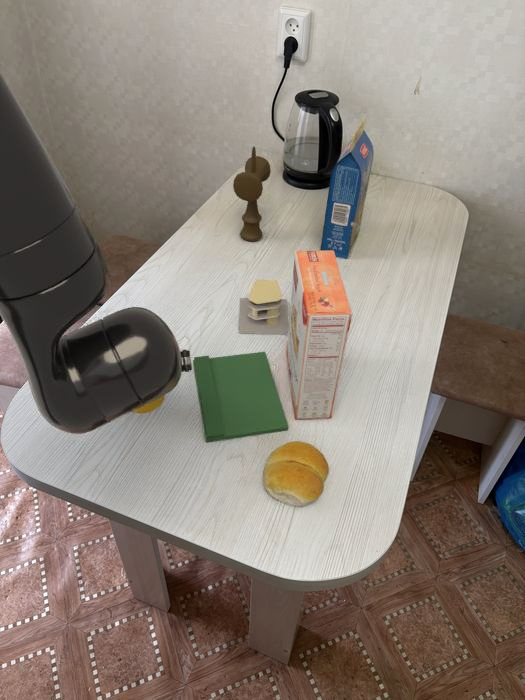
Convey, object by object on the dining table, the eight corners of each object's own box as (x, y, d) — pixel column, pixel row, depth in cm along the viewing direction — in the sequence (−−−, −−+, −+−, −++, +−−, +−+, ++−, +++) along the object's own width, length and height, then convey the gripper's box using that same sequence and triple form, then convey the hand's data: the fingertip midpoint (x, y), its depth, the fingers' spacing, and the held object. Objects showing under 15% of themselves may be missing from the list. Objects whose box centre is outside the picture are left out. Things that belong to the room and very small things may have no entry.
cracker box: (283, 355, 85) (293, 248, 70) (318, 354, 85) (336, 248, 71) (291, 421, 75) (305, 312, 60) (331, 420, 75) (355, 311, 61)
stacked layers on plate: (239, 298, 95) (240, 274, 92) (287, 299, 96) (289, 275, 92) (238, 333, 88) (238, 308, 84) (289, 334, 89) (292, 310, 85)
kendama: (232, 246, 108) (232, 154, 95) (243, 224, 115) (245, 135, 101) (259, 250, 108) (263, 158, 94) (269, 228, 115) (274, 139, 101)
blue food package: (359, 232, 115) (382, 118, 98) (347, 259, 107) (370, 140, 89) (332, 226, 116) (350, 113, 99) (319, 252, 108) (335, 134, 91)
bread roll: (332, 459, 70) (336, 442, 67) (315, 515, 64) (319, 499, 61) (275, 442, 72) (277, 424, 69) (254, 494, 66) (255, 478, 63)
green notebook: (206, 442, 71) (205, 436, 70) (193, 363, 83) (192, 357, 82) (288, 430, 73) (288, 424, 73) (264, 354, 85) (265, 348, 84)
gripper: (192, 324, 54) (187, 333, 71) (51, 340, 51) (80, 346, 68) (201, 394, 54) (194, 387, 70) (60, 413, 51) (87, 401, 68)
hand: (138, 366), depth 69 cm, fingers closed on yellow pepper, 6 cm apart
